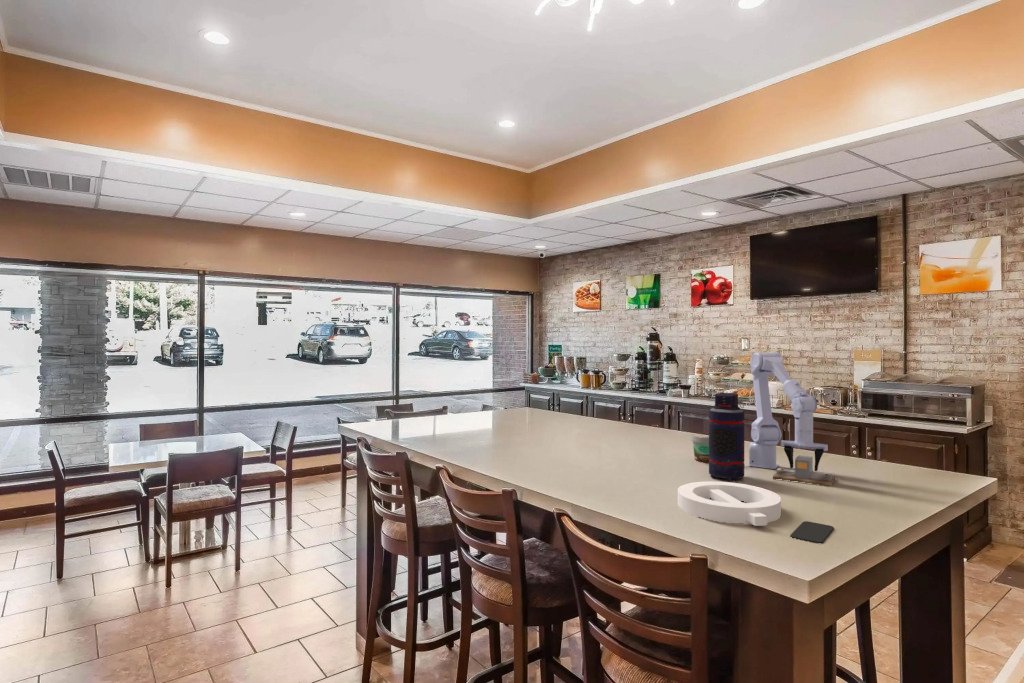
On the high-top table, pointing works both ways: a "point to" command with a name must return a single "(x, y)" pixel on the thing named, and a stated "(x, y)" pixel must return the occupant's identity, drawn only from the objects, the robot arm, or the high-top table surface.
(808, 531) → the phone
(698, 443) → the food container
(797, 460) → the block
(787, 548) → the high-top table surface
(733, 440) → the navy bottle
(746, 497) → the ring with crossbar
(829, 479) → the rail board
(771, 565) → the high-top table surface
